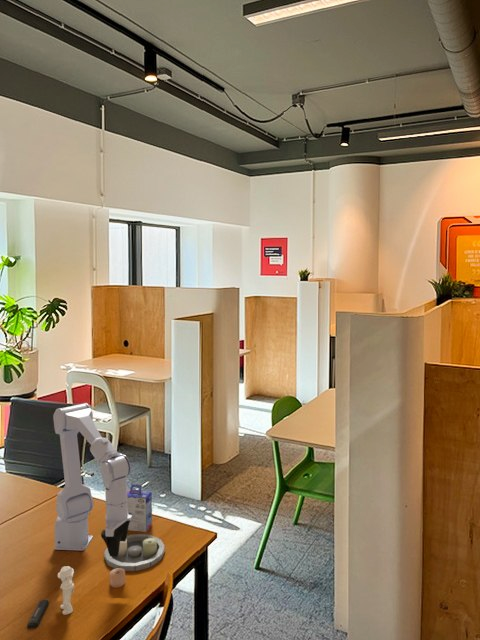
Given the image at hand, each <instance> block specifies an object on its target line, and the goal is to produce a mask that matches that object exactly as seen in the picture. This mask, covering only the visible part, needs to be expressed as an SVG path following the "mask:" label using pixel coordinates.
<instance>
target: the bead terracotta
mask: <svg viewBox="0 0 480 640" xmlns="http://www.w3.org/2000/svg"><path fill="white" fill-rule="evenodd" d="M125 584H126V571H125V570H124V569H122V568H116V569H114V568H112V570H111V571H110V572H109V585H110V587H112V588H116V589H117V588H121V587H123V586H124V585H125Z"/></svg>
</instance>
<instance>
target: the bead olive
mask: <svg viewBox="0 0 480 640" xmlns="http://www.w3.org/2000/svg"><path fill="white" fill-rule="evenodd" d="M156 554H157V541H156V539H153V538H148V539H145V540H144V541H143V556H144V557H145V558H151V557H153V556H154V555H156Z"/></svg>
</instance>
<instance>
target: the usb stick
mask: <svg viewBox="0 0 480 640" xmlns="http://www.w3.org/2000/svg"><path fill="white" fill-rule="evenodd" d="M49 604H50V602H49V600H48V599H41V600H39V601H38V603H37V606H36V607H35V609H34V611H33V613H32V615H31V617H30V619H29V621H28V623H27V628H28V629H36V628H38V627H39V625H40V622H41V621H42V617H43V616H44V614H45V611H46V610H47V608H48V605H49Z"/></svg>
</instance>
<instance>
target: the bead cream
mask: <svg viewBox="0 0 480 640" xmlns="http://www.w3.org/2000/svg"><path fill="white" fill-rule="evenodd" d="M126 554H127V539H126V541H120V546H119V554H118V556H117V557H122V556H125V555H126Z"/></svg>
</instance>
